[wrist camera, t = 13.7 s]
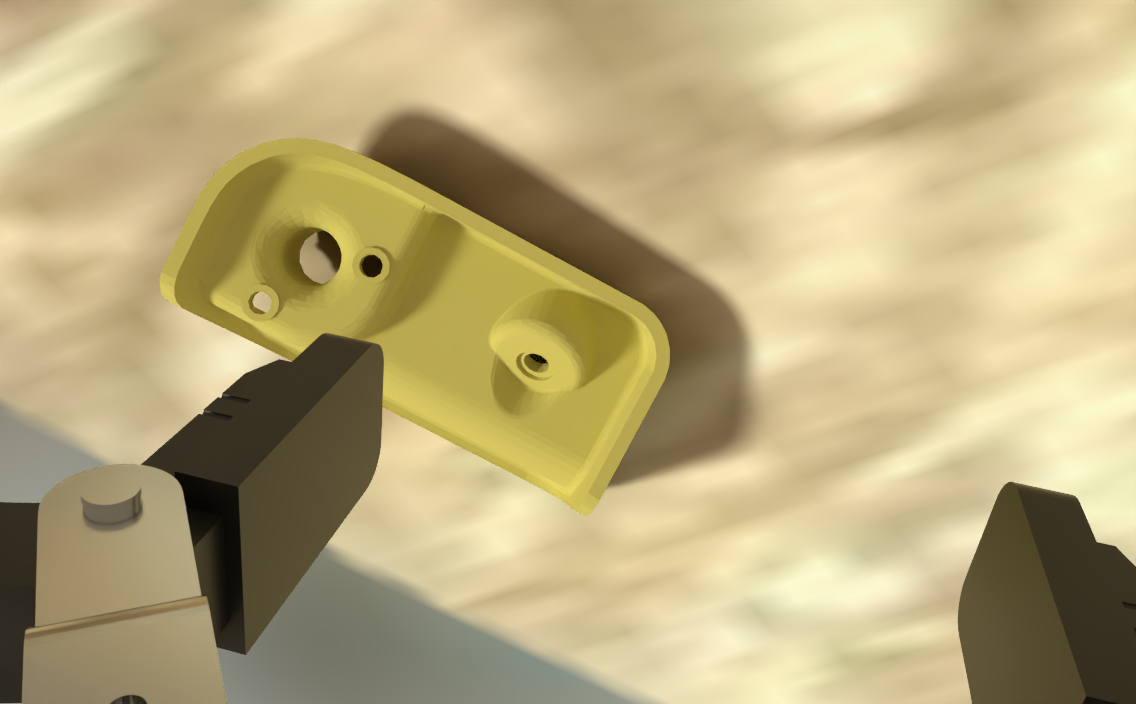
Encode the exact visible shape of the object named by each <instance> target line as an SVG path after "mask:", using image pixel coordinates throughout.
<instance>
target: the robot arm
mask: <svg viewBox="0 0 1136 704" xmlns="http://www.w3.org/2000/svg"><path fill="white" fill-rule="evenodd" d="M383 374H384V356H383V350H382V348H381V346H380V345H379V344H377V343H372V342H367V341H363V340H358V339H354V338H349V337H344V336H340V335H335V334H330V333H324V334H322V335H320V336H319V337H318V338H317V339H316V340H315V341H314V342H313V343H312V344H310V345H309V346H308V347H307V348H306V349H305V350H304V351H303V352H302V353H301V354H300V355H299V356H298V357H297V358H295V359H294V360H293V361H292V362H289V361H284V360H280V359H279V360H277V361H274V362H272V363H269V364H267V365H265V366H262V367H260V368H257V369H255V370H253V371H250V372H248V373H245V374H244V375H243V376H242V377H241V378H239V379H238V380H237V381H236V382H235V383H234V384H233V385H231V386H230V387H229V388H228V389H227V390H226V391H225V392H223V393H222V397H221V398H219V397H218V398H217V399H215V400H214V401H213V402H212V403H211V404H210V405H209V406H207V407H206V408H205V409H204V412H203V414H198V415H197V416H196V417H195V418H194V419H193V420H191V421H190V422H189V423H188V424H187V425H186V426H185V427H183V428H182V429H181V430H180V431H179V432H178V433H177V434H175V435H174V436H173V437H172V438H171V439H170V440H169V441H167V442H166V443H165V444H164V445H163V446H162V447H161V448H159V449H158V450H157V451H156V452H155V453H154V454H153V455H151V456H150V457H149V458H148V459H147V460H146V461H145V462H143V463H142V464H141V465H137V464H117V465H107V466H102V467H97V468H93V469H89V470H86V471H83V472H80V473H77V474H75V475H73V476H71V477H69V478H67V479H65V480H63V481H61V482H60V483H58V484H57V485H56V486H54V487H53V488H52V489H51V490H50V491H48V493H47V494H46V495H45V496H44V498H43V499H42V501H41V503H4V502H0V703H22V704H227V701H226V696H225V690H224V685H223V680H222V674H221V669H220V663H219V658H218V653H217V647H219V648H222V649H226V650H229V651H233V652H237V653H240V654H244V655H246V654H247V652H248V651H249V650H250V648H251V647H252V645H253V644H254V643H255V641H256V640H257V639H258V637H259V636H260V635H261V633H262V632H263V631H264V629H265V628H266V626H267V625H268V624H269V622H270V621H271V620H272V618H273V617H274V615H275V614H276V613H277V611H278V610H279V609H280V607H281V606H282V604H283V603H284V602H285V600H286V599H287V598H288V596H289V595H290V593H291V592H292V591H293V589H294V588H295V587H296V585H297V584H298V583H299V581H300V580H301V578H302V577H303V576H304V574H305V573H306V572H307V570H308V569H309V567H310V566H311V565H312V563H313V562H314V560H315V559H316V558H317V557H318V555H319V554H320V552H321V551H322V550H323V548H324V547H325V546H326V544H327V543H328V541H329V540H330V539H331V537H332V536H333V535H334V533H335V532H336V530H337V529H338V528H339V526H340V525H341V524H342V522H343V521H344V519H345V518H346V517H347V515H348V514H349V513H350V511H351V510H352V509H353V507H354V506H355V504H356V503H357V502H358V500H359V499H360V498H361V496H362V495H363V493H364V492H365V491H366V489H367V488H368V486H369V484H370V482H371V480H372V478H373V475H374V473H375V470H376V466H377V463H378V459H379V454H380V448H381V429H382V401H383ZM958 630H959V637H960V642H961V647H962V652H963V657H964V663H965V668H966V673H967V678H968V683H969V688H970V694H971V699H972V704H1136V567H1135V566H1134V565H1133V564H1132V563H1131V562H1130V561H1129V560H1128V559H1127V558H1126V557H1125V556H1124V555H1123V554H1122V552H1121V551H1120V550H1119V549H1118V548H1117V547H1116V546H1112V545H1107V544H1103V543H1098V542H1096V540H1095V537H1094V535H1093V533H1092V530H1091V528H1090V526H1089V523H1088V521H1087V519H1086V516H1085V514H1084V512H1083V509H1082V507H1081V504H1080V502H1079V500H1078V499H1077V498H1076V497H1075V496H1073V495H1069V494H1065V493H1060V492H1055V491H1051V490H1046V489H1042V488H1037V487H1032V486H1028V485H1023V484H1018V483H1014V482H1008V483H1007V484H1005V485H1004V487H1003V488H1002V489H1001V491H1000V493H999V495H998V497H997V499H996V502H995V504H994V507H993V509H992V512H991V514H990V517H989V520H988V522H987V525H986V527H985V530H984V532H983V535H982V537H981V540H980V542H979V545H978V548H977V550H976V553H975V555H974V558H973V560H972V563H971V565H970V568H969V571H968V573H967V576H966V578H965V581H964V584H963V588H962V592H961V596H960V602H959V610H958Z"/></svg>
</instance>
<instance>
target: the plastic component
mask: <svg viewBox="0 0 1136 704" xmlns="http://www.w3.org/2000/svg"><path fill="white" fill-rule="evenodd" d="M320 231H326V232H328V233H329V234H331V235H332V236H333V237H334V238H335V240H336V241H337V243H338V245H339V247H340V249H341V254H342V257H341V265H340V268H339V270H338V272H337V274H336V275H335V276H334V277H333V278H332V279H331V280H330V281H328V282H327V283H324V284H320V283H317V282H314V281H312V280H311V279H310V278H309V277H308V276H307V275H306V274H305V273H304V271H303V269H302V267H301V264H300V262H299V260H300V249H301V247H302V245H303V243H304V241H305V240H306V239H307V238H309V237H310V236H311V235H313V234H314V233H316V232H320ZM369 255H376V256H377V257H378V258H380V259H381V262H382V265H383V267H382V271H381V273H380V274H379V275H377V276H376V277H368V276H367V275H366V274H365V273H364V272H363V269H362V265H361V264H362V263H363V262H364V259H365V257H367V256H369ZM159 283H160V289H161V294H162V295H163V296H164V297H165V298H166V299H167V300H168V301H170V302H172V303H174V304H175V305H177V306H179V307H181V308H183V309H185V310H187V311H189V312H191V313H193V314H196V315H198V316H200V317H202V318H204V319H206V320H208V321H210V322H213V323H215V324H217V325H219V326H221V327H223V328H225V329H227V330H229V331H231V332H233V333H236V334H238V335H240V336H242V337H244V338H246V339H248V340H250V341H252V342H254V343H256V344H258V345H260V346H262V347H264V348H266V349H268V350H270V351H273V352H275V353H277V354H279V355H281V356H283V357H285V358H287V359H289V360H291V361H293V360H294V359H295V358H297V357H298V356H299V355H300V354H301V353H302V352H303V351H304V350H305V349H306V348H307V347H308V346H309V345H310V344H312V343H313V342H314V341H315V340H316V339H317V338H318V337H319V336H320V335H322V334H324V333H330V334H335V335H340V336H344V337H349V338H354V339H358V340H363V341H367V342H372V343H377V344H379V345H380V346H381V348H382V350H383V356H384V374H383V401H382V407H384V408H386V409H388V410H390V411H392V412H394V413H396V414H398V415H400V416H402V417H404V418H406V419H408V420H410V421H411V422H413V423H415V424H417V425H419V426H421V427H423V428H425V429H427V430H429V431H431V432H433V433H435V434H437V435H439V436H441V437H442V438H444V439H446V440H448V441H450V442H452V443H454V444H456V445H458V446H460V447H462V448H464V449H466V450H468V451H470V452H472V453H474V454H475V455H477V456H479V457H481V458H483V459H485V460H487V461H489V462H491V463H493V464H495V465H497V466H499V467H501V468H503V469H505V470H506V471H508V472H510V473H512V474H514V475H516V476H518V477H520V478H522V479H524V480H526V481H528V482H530V483H532V484H533V485H535V486H537V487H539V488H541V489H543V490H545V491H546V492H548V493H550V494H552V495H554V496H555V497H557V498H559V499H560V500H562V501H563V502H565V503H566V504H567V505H568V506H570V507H571V508H572V509H573V510H575V511H577V512H579V513H581V514H583V515H585V516H587V515H589V514H590V513H591V512H592V511H593V509H594V508H595V506H596V505H597V503H598V502H599V500H600V499H601V497H602V495H603V493H604V491H605V489H606V487H607V486H608V484H609V482H610V480H611V478H612V476H613V475H614V473H615V471H616V469H617V467H618V465H619V464H620V462H621V460H622V458H623V456H624V454H625V452H626V451H627V449H628V447H629V445H630V443H631V441H632V440H633V438H634V436H635V434H636V432H637V430H638V429H639V427H640V425H641V423H642V421H643V419H644V417H645V416H646V414H647V412H648V410H649V408H650V406H651V405H652V403H653V401H654V399H655V397H656V395H657V393H658V392H659V390H660V388H661V386H662V384H663V382H664V381H665V379H666V375H667V372H668V368H669V365H670V347H669V342H668V337H667V334H666V332H665V330H664V328H663V326H662V324H661V322H660V321H659V319H658V318H657V317H656V315H655V314H654V313H653V312H652V311H650V310H649V309H648V308H647V307H646V306H645V305H644V304H642V303H640V302H638V301H636V300H634V299H632V298H631V297H629V296H627V295H625V294H623V293H621V292H620V291H618V290H616V289H614V288H612V287H610V286H608V285H607V284H605V283H603V282H601V281H599V280H597V279H596V278H594V277H592V276H590V275H588V274H586V273H584V272H583V271H581V270H579V269H577V268H575V267H573V266H571V265H570V264H568V263H566V262H564V261H562V260H560V259H559V258H557V257H555V256H553V255H551V254H549V253H547V252H546V251H544V250H542V249H540V248H538V247H536V246H535V245H533V244H531V243H529V242H527V241H525V240H523V239H522V238H520V237H518V236H516V235H514V234H512V233H511V232H509V231H507V230H505V229H503V228H501V227H499V226H498V225H496V224H494V223H492V222H490V221H488V220H486V219H485V218H483V217H481V216H479V215H477V214H475V213H474V212H472V211H470V210H468V209H466V208H464V207H462V206H461V205H459V204H457V203H455V202H453V201H451V200H450V199H448V198H446V197H444V196H442V195H440V194H438V193H437V192H435V191H433V190H431V189H429V188H427V187H425V186H424V185H422V184H420V183H418V182H416V181H414V180H412V179H410V178H408V177H406V176H404V175H402V174H400V173H399V172H397V171H395V170H393V169H391V168H389V167H387V166H385V165H383V164H381V163H379V162H377V161H374V160H372V159H370V158H368V157H365V156H363V155H361V154H359V153H356V152H353V151H351V150H348V149H345V148H342V147H340V146H337V145H334V144H329V143H325V142H321V141H316V140H307V139H282V140H277V141H272V142H267V143H264V144H261V145H258V146H255V147H253V148H250V149H248V150H246V151H244V152H243V153H241V154H239V155H237V156H236V157H234V158H233V159H231V160H230V161H229V162H227V163H226V164H225V165H224V166H223V167H222V168H221V169H220V170H219V171H218V172H217V173H216V174H215V175H214V176H213V177H212V178H211V179H210V181H209V182H208V184H207V185H206V186H205V188H204V189H203V191H202V192H201V193H200V195H199V197H198V199H197V200H196V202H195V204H194V206H193V208H192V210H191V212H190V214H189V216H188V218H187V220H186V222H185V224H184V226H183V228H182V231H181V233H180V235H179V237H178V239H177V241H176V243H175V245H174V247H173V249H172V251H171V253H170V255H169V257H168V259H167V261H166V263H165V265H164V267H163V269H162V271H161V276H160V281H159ZM259 291H263V292H265V293H267V294H268V295H269V296H270V298H271V300H272V305H271V309H270V310H269V311H268V312H267V313H265V312H263V311H261V310H259V309H257V308H255V307H254V306H253V302H252V301H253V298H254V296H255V294H257V293H258V292H259ZM532 353H533V354H537V355H541V356H542V357H543V358H545V359H546V360H547V362H548V363H545V364H542V363H539V362H536V361H535V360H533V359H532V358H531V357H530V355H529V354H532Z"/></svg>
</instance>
